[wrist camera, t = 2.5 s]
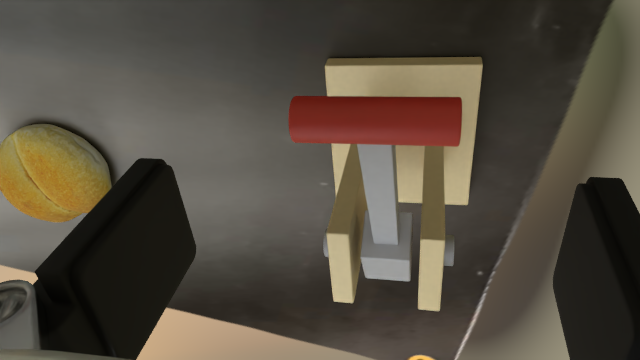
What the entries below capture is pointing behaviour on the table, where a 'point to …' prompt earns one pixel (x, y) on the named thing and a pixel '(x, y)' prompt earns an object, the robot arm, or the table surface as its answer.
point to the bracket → (403, 165)
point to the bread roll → (52, 173)
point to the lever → (379, 159)
